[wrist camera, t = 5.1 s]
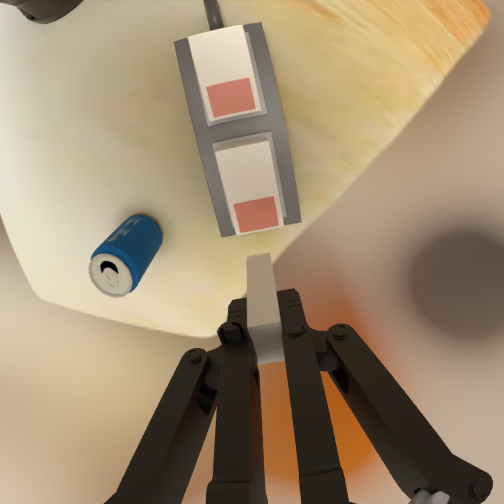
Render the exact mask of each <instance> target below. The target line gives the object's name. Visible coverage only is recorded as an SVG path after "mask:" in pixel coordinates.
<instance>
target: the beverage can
mask: <svg viewBox="0 0 504 504" xmlns="http://www.w3.org/2000/svg"><path fill="white" fill-rule="evenodd" d="M161 244H162V232H161V230H160V227H159V226H158V224H157V223H156V222H155V221H154V220H153V219H152V218H150V217H148V216H145V215H139V214H138V215H133V216H131V217H129V218H128V219H127V220H125V221H124V222H123V223H122V224H121V225H120V226H119V227H118V228H117V229H116V230H115V231H114V232H113V233H112V234H111V235H110V236H109V237H108V238H107V239H106V240H105V241H104V242H103V243H102V244H101V245H100V246H99V247H98V248H97V249H96V250H95V251H94V253H93V254H92V257H91V261H90V264H89V275H90V278H91V281H92V282H93V284H94V285H95V287H96V288H97V289H98V290H99V291H101V292H102V293H103V294H105V295H107V296H110V297H114V298H119V297H123V296H125V295H127V294H128V293H130V292H132V291H133V290H134V289H135V288H136V287H137V285H138V283H139V282H140V280H141V278H142V276H143V275H144V273H145V271H146V270H147V268H148V266H149V265H150V263H151V261H152V260H153V258H154V256H155V255H156V253H157V251H158V250H159V248H160V246H161Z"/></svg>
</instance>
